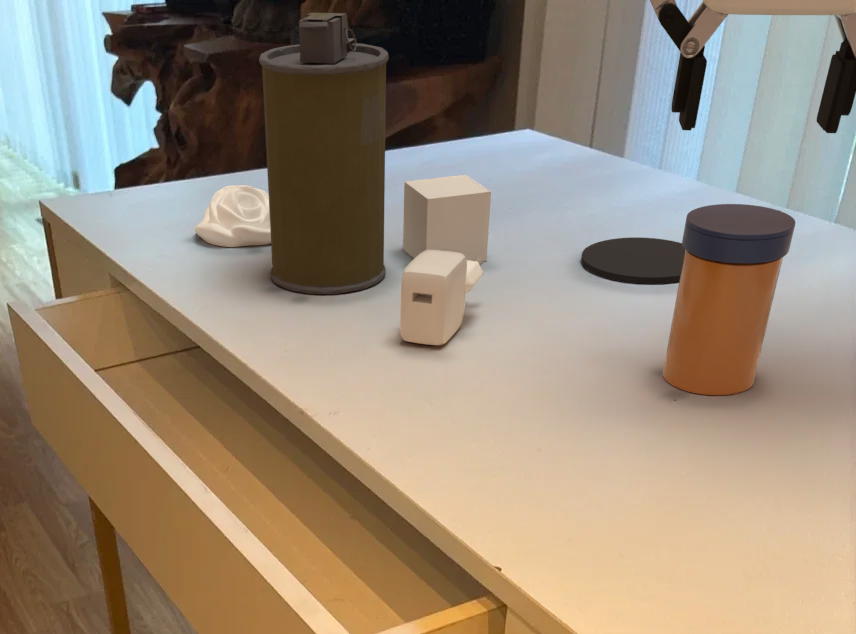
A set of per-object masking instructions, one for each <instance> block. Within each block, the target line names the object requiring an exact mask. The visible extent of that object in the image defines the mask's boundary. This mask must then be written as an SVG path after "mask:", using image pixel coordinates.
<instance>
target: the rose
mask: <svg viewBox="0 0 856 634" xmlns="http://www.w3.org/2000/svg"><path fill="white" fill-rule="evenodd" d="M193 231H194V232H195V233H196V234H197V236H198V237H200V238H201V239H202V240H203V241H205V242H206V243H208V244H210V245H213V246H219V247H225V248H238V247H246V246H247V247H248V246H266V245H271V231H270V212H269V193H268V192H267V191H265V190H263V189H262V188H261V189H260V188H255V187H254V186H252V185H247V184H239V185H235V184H234V185H227V186H224V187H222V188H221V189H220V188H219V189H218V190H216V191H215V193H214V194H213V195H212V197H211V199H210V201H209V205H208V206H207V208H206V209H205V211H204V214H203V219H202V220H201V221H200V222H199V223H198V224H196V225H195V227H194V229H193Z"/></svg>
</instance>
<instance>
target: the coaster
mask: <svg viewBox="0 0 856 634" xmlns="http://www.w3.org/2000/svg"><path fill="white" fill-rule="evenodd" d="M684 252H685V249H684V247H683V245H682V242H680V241H675V240H670V239H663V238H655V237H639V236H638V237H635V236H634V237H620V238H619V237H617V238H610V239H605V240H600V241H597V242H594V243H592V244H590V245H588V246H587V247H585V248H584V249H583V250H582V252H581V258H580V263H581V266H583V269H585V270H586V271H588V272H590V273H592V274H593V275H595V276H598V277H600V278H604V279H607V280H612V281H615V282H622V283H629V284H639V285H660V284H661V285H663V284H664V285H665V284H675V283H679V280H680V274H681V269H682V263H683V258H684Z"/></svg>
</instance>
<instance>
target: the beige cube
mask: <svg viewBox="0 0 856 634" xmlns="http://www.w3.org/2000/svg"><path fill="white" fill-rule="evenodd" d="M403 184H404V186H403V226H402V227H403V228H402V229H403V230H402V231H403V233H402V251H404V252H405V253H406V254H408V255H409V256H410V257H411V258H412V260H413V259H414V258H416V257H417V256H418V255H419V254H420V253H422V252H423V251H425V250H442V251H451V252H458V253H462V254H464V255H465V257H466V260H470V261H474V260H475V259H476V258H478V257H481V258H482V259H483V262H487V259H488V243H489V230H490V215H491V201H492V200H491V199H492V191H491V190H490V189H488V188H486V187H485V186H483V185H482V184H480V183H479V182H477V181H476V180H474V179H473V178H472V177H470V176H468V175H467V174H459V175H450V176H442V177H441V176H440V177H432V178H424V179H416V180H415V179H414V180H406V181H404V183H403Z"/></svg>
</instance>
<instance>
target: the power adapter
mask: <svg viewBox="0 0 856 634" xmlns="http://www.w3.org/2000/svg"><path fill="white" fill-rule="evenodd" d="M483 264H484V261H483V259H482V258H481V257H478V258H476V259H475V260H474V261H470V260H466V257H465V255H464V254H462V253H458V252H451V251H442V250H425V251H423V252H422V253H420V254H419V255H418V256H417V257H416V258H414V259H413V258H412V260H411V261H410V262H409V263H408V264H407V265H406V266H405V267H404V269H403V272H402V276H401V287H400V317H399V318H400V319H399V320H400V323H399V324H400V327H399V329H400V336H401V338H402V339H403V341H405V342H409V343H415V344H421V345H430V346H442V345H445V344H446V343H447V342H448V341H449V340H450V339H451V338H452V337H453V336H454V335H455V334H456V332H457V331H458V330H459V328H460V327H461V325H463V320H464V318H465V307H466V306H465V305H466V294H467V295H468V293H469V292H470V291H471V290H472V289H473V288H474V286H475V285H476V284H477V283H478V282H479V280H480V279H481V278H482V277H483V275H484V271H483V269H482V266H483Z"/></svg>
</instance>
